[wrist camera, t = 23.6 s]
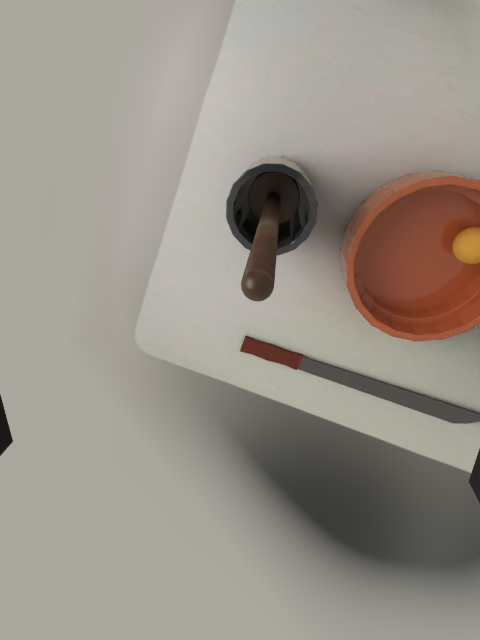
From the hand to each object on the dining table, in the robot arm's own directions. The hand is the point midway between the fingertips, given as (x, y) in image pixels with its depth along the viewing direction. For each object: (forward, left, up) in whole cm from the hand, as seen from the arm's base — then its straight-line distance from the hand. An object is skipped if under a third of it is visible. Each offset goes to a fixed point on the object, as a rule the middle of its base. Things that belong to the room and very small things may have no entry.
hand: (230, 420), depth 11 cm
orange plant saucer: (+16, +8, -41) cm, 44 cm away
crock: (0, 0, -41) cm, 41 cm away
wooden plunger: (0, 0, -40) cm, 40 cm away
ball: (+18, +13, -38) cm, 44 cm away
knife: (+27, -8, -41) cm, 49 cm away
